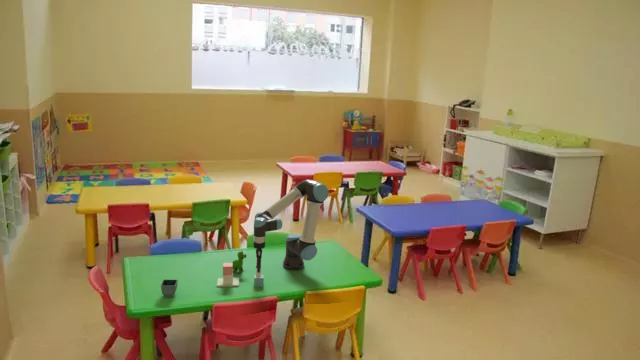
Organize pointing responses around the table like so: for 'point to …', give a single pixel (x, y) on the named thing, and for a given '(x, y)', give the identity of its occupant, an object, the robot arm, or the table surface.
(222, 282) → the plate
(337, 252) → the table surface
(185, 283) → the table surface
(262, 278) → the brick teal
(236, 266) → the toy
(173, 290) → the flower pot
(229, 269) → the brick coral
